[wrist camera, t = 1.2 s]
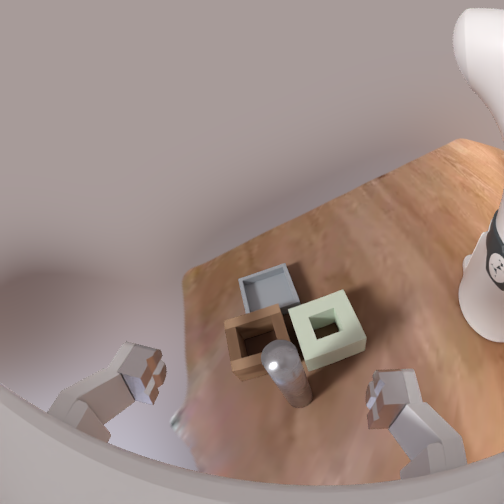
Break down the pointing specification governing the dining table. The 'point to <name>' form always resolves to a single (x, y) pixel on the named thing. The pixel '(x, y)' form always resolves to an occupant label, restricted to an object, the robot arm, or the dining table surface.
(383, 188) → the dining table surface
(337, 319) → the sage block
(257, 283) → the tray
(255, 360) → the brown wooden square frame
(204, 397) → the dining table surface
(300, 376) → the cylinder
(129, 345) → the robot arm
